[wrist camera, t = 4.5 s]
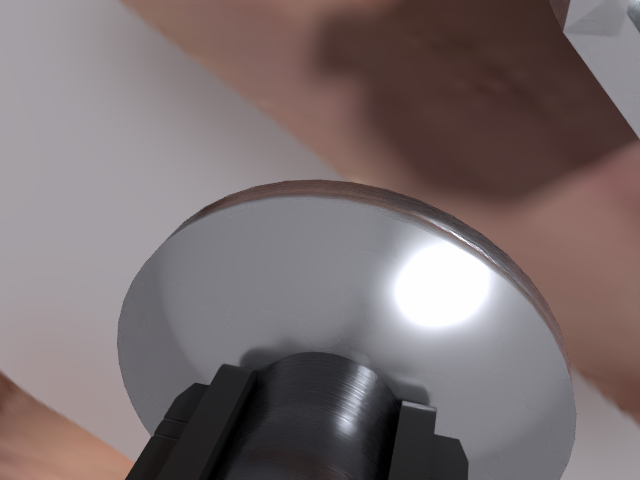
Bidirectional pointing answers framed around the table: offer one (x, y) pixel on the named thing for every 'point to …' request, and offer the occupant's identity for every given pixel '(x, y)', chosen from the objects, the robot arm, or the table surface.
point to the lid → (350, 334)
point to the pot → (607, 47)
